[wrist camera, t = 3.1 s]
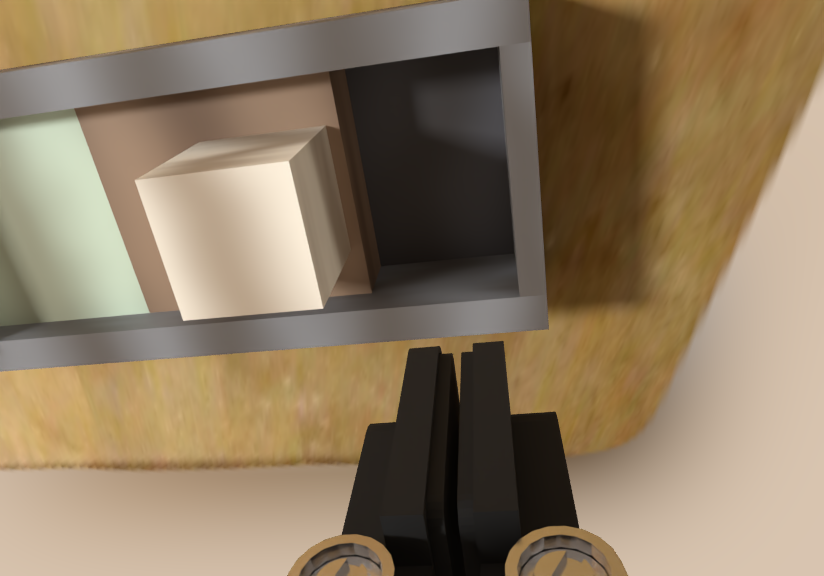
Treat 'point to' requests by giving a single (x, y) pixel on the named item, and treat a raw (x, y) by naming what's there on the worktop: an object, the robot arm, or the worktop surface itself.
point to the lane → (265, 113)
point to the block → (249, 224)
